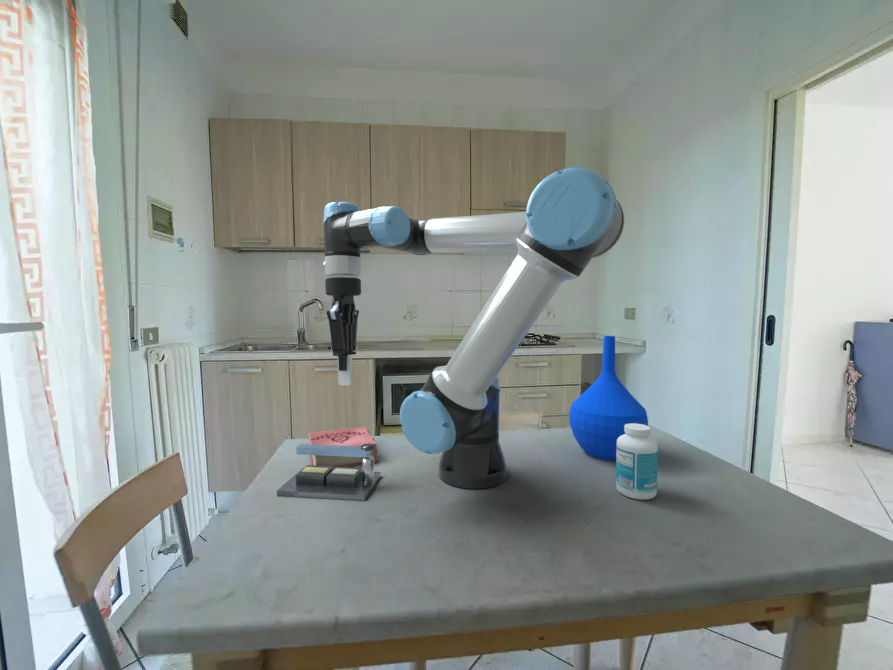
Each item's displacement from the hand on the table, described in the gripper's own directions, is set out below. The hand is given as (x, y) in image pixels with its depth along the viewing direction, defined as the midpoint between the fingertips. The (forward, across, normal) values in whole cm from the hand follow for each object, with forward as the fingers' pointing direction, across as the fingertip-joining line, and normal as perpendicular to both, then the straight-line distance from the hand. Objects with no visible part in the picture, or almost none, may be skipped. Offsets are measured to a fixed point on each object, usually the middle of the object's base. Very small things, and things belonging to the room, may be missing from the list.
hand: (345, 384), depth 88 cm
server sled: (+20, +6, -1) cm, 21 cm away
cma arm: (+13, +7, 0) cm, 15 cm away
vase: (+20, -18, +61) cm, 67 cm away
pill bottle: (+20, +3, +61) cm, 64 cm away
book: (+21, -10, -5) cm, 23 cm away
